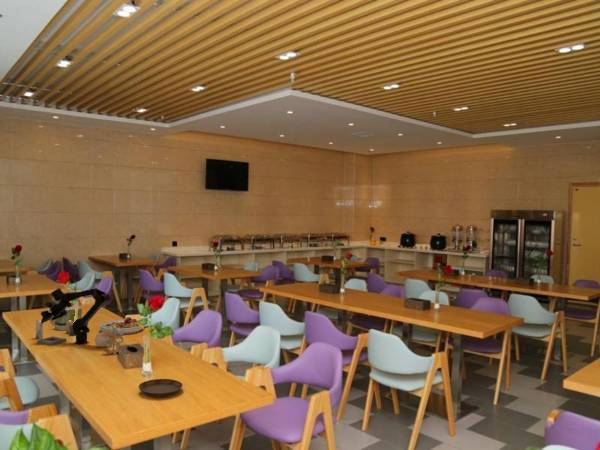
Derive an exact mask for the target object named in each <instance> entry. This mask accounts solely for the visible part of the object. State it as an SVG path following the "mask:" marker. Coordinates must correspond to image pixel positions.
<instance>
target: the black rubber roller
mask: <svg viewBox="0 0 600 450" xmlns="http://www.w3.org/2000/svg"><path fill="white" fill-rule="evenodd" d="M72 326H73V324H72V325H70V334H69V337H76V335H74V331H73V327H72Z"/></svg>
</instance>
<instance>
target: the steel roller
mask: <svg viewBox="0 0 600 450" xmlns="http://www.w3.org/2000/svg"><path fill="white" fill-rule="evenodd" d="M41 320H42V319H37V320H36V322H35V339H36V340H41V339H44V338H43V337H44V336H43V332H44V331H43V330H44V329H43V327H44V323H41Z"/></svg>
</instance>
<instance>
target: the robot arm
mask: <svg viewBox="0 0 600 450" xmlns="http://www.w3.org/2000/svg"><path fill="white" fill-rule="evenodd" d="M50 295H51V297H52V298H53V299H54V300H48V301H46V302H45V303H44V306H45V307H46V308H49V310H48V309H47V310H43V311H41V312H40V316H41V317H42V318H41V319H40V320H41V323H43V324H44V323H46V322H48V321H50V320H51V321H55V319H58V318H60V317H63V316H65V315H66V314H67V311H66V310H65V308H67V307H73V304H72V301H76V300H78V299H81V298H83V297H84V298H85V297H87V296H92V298H93V299H94V304H93V305H92V306H91V307H90V308H89V310H88V311H87V312H86V313H85V314H84V315H83V316H82V317H81V318H80V319H77V320H76V321H75V322H74V323H73V326H72V327H73V331H74V335H76V336H75V342H73V344H75V345H85V344H88V343H89V341H88V333H90V328H89V327H88V325H89V321H91V319H93V317H94V316H95V314H97V312H99V310H100V309H101V308H103V307H104V306H105V305H107V304H108V303H110V302H111V296H110V295H109V293H106V292H105V291H102V290H101V289H99V288H98V287H95V288H90V289H86V290H81V291H71V292H65V293H64V292H63V290H62V289H61V288H60V287H59V288H56V289H54V290H53V291H51V292H50Z"/></svg>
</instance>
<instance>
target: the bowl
mask: <svg viewBox="0 0 600 450" xmlns="http://www.w3.org/2000/svg"><path fill="white" fill-rule="evenodd" d="M137 321H138V320H137V319H136V318H132V317H130V316H126V318H124V319H117V320H116V319H115V320H109V321H105V322H102V323H100V324H99V329H100V331H101V332H104V329H105V330H106V331H108V330H110V332H113V328H112V326H113V325H115V326H116V328H120V331H121V329H122V332H121V333H123V335H130V334H135V333H139V332H140V331H141V330H142V329H143V328H142V327H141V326H139V325H138V324H137ZM110 324H111V325H112V326H111V325H110ZM120 331H117V335H119V333H120ZM114 332H115V331H114ZM114 332H113V333H114Z"/></svg>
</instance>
